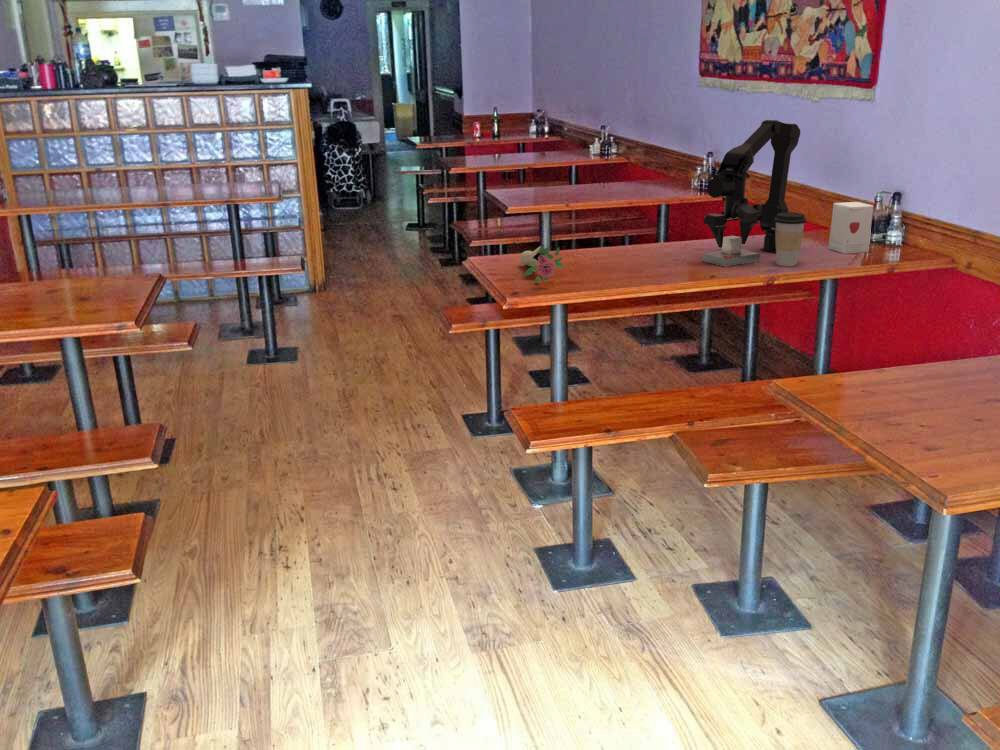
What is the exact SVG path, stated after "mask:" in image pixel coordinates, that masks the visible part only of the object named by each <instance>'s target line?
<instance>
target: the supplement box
mask: <svg viewBox="0 0 1000 750" xmlns="http://www.w3.org/2000/svg"><path fill="white" fill-rule="evenodd" d="M873 213H874V205H873V204H868V203H865V202H861V201H849V202H848V201H846V202H833V205H832V214H831V224H830V232H829V242H828V249H829V250H831V251H835V252H837V253H840V254H843V255H846V254H862V253H868V252H869V247H870V240H871V239H870V238H871V233H872V232H871V231H872V230H871V229H872V223H873Z"/></svg>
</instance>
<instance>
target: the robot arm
mask: <svg viewBox="0 0 1000 750" xmlns="http://www.w3.org/2000/svg"><path fill="white" fill-rule="evenodd" d="M800 136H801V128H799V126H798V124H796V123H786V122H782V121H780V120H776V119H775V120H774V119H765V120H763V121H762V122H761V125H760V126H759V127H758V128H757V129H756V130H755V131H754V132H753V133H752V134H751V135H750V136H749V137H748V138H747V139H746V140H745V141H744V142H743V143H742V144H740V145H737V146H735V147H733V148H731V149H729V151H727V152H726V153H725V154H724V156H723V158H722V161H721V162H720V165H719V167H718V169H717V171H716V173H714V174H712V175H713V177H712V178H711V179H710V180H709V181H708V183H707V185H706V191H707V194H708V195H709V196H710V198H713V199H716V198H717V199H718V198H721V201H722V202H724V210H721V214H720V213H708V214H705V216H704V218H703V224H704V225H706V227H709V229H710V231H711V233H712V235H713V237H714V239H715V242H716V244H717V246H718V248H720V249H722V244H723V237H724V232H725V230H726V229H727V225H726V224H727V222H733V221H739V233H740V237H742V242H741V245H745V244H746V243H747V241H748V238H749V236H750V233H751V231H752V229H753V228H754V227H755V226H756V225H757V224H759V226H760V231H762V232H765V233H764V234H765V235H764V239H763V241H764V242H763V247H760V250H762V251H765V252H770V253H776V238H775V230H776V222H774V218H775V217H776V216H777V214H778V213H789V207H788V205H787V203H786V201H785V199H786V198H785V197H786V190H787V184H788V176H789V169H790V163H791V156H792V153H793V152H794V150H795V148H796V147H797V146H798V144H799V141H800ZM769 141H770V145H771V147H772V149H773V151H774V153H773V160H772V161H773V162H772V169H771V177H770V184H769V192H768V198H767V200H766V201H765V202H764V203H761V204H760V203H754V204H753V205H750V204H749V199H748V197H746V182H747V179H750V178H751V174H749V172H747V171H749V169H750V168H751V167H752V165H753V164H754V163H755V161H754V159H755V156H756V155H757V154H758V153H759V151H761V149H762V148H763V147H764V146H765V145H766V144H767V143H768V142H769Z"/></svg>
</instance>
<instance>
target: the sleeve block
mask: <svg viewBox="0 0 1000 750" xmlns="http://www.w3.org/2000/svg"><path fill="white" fill-rule="evenodd" d="M701 255H702V259H701V261H702V262H703V261H704V262H703V263H707V262H708V263H707V264H711V263H713V264H712V265H714V264H717V265H716V266H718V265H720V266H719V267H722V266H728V267H732V266H731V265H735V266H738V265H737V264H741V265H744V264H743V263H748V264H751V263H750V262H754V263H758V262H757V261H759V262H760V261H761V260H760V258H761V254H760V253H759V252H755V251H751V250H746V249H743V248H741V254H739V255H726V254H722V250H718V251H717V250H716V251H709V252H704V253H703V252H702V254H701Z"/></svg>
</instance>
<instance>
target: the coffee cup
mask: <svg viewBox="0 0 1000 750" xmlns="http://www.w3.org/2000/svg"><path fill="white" fill-rule="evenodd" d="M807 219H808V218H806V217H805V214H804V213H799V212H788V213H778V214H777V216H776V217H775V218H774V222H776V230H775V238H776V254H775V256H776V265H777V264H778V265H777V266H779V265H781V266H780V267H795V265H796V266H797V265H798V259H799V254H800V250H801V246H802V242H803V241H802V240H803V235H804V227H805V224H806V223H807V222H808V221H807Z"/></svg>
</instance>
